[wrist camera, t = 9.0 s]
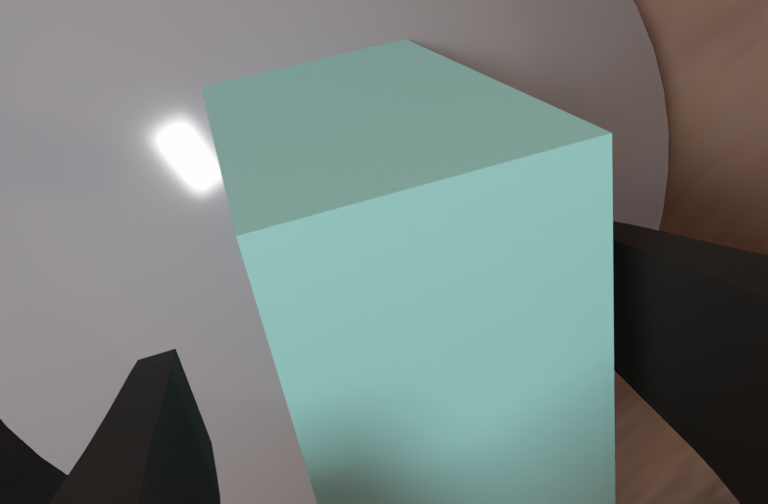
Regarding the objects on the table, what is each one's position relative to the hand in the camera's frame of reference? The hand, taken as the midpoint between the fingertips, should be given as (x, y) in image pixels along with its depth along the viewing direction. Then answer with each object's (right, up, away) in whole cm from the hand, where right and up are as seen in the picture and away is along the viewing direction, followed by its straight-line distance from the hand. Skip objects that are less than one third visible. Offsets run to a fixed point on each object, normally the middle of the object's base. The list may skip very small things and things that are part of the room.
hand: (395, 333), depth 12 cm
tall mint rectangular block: (-1, +2, +3) cm, 4 cm away
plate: (-1, +2, +4) cm, 5 cm away
